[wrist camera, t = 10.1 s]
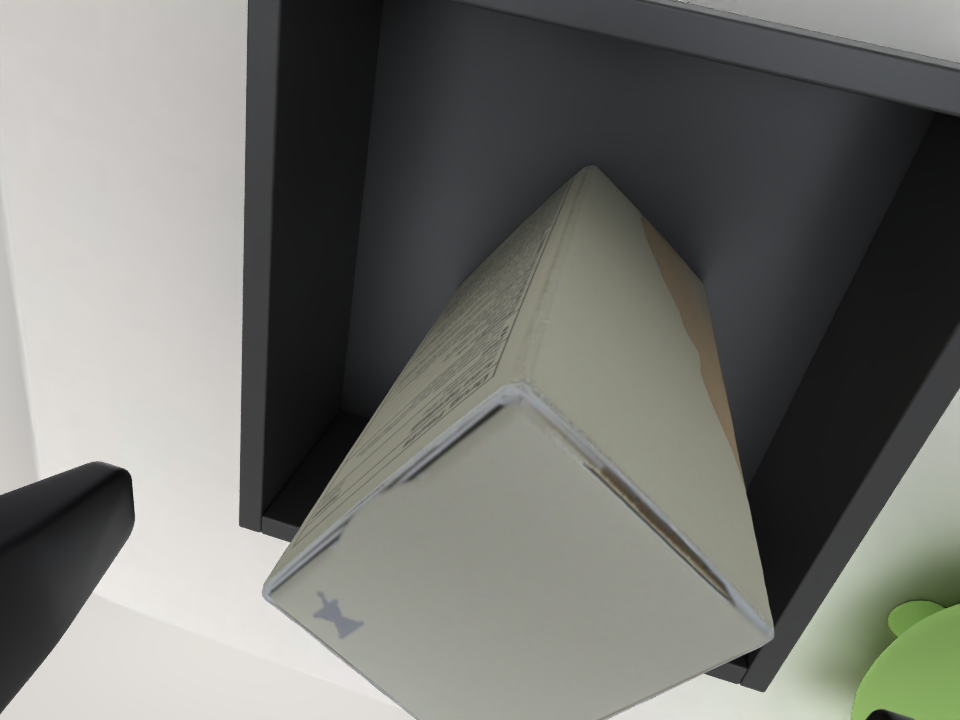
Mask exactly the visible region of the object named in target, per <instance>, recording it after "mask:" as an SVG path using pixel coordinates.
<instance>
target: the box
mask: <svg viewBox="0 0 960 720" xmlns="http://www.w3.org/2000/svg"><path fill="white" fill-rule="evenodd" d="M262 595H263V597H264V599H265V600H266V601H267V602H269V603H270V604H271V605H273V606H274V607H276V608H277V609H278V610H280V611H281V612H283V613H284V614H285V615H286V616H287V617H289V618H290V619H291V620H292V621H294V622H295V623H296V624H298V625H299V626H301V627H302V628H303V629H304V630H305V631H307V632H308V633H309V634H310V635H311V636H313V637H314V638H315V639H316V640H318V641H319V642H320V643H321V644H322V645H324V646H325V647H326V648H327V649H328V650H329V651H331V652H332V653H333V654H335V655H336V656H337V657H339V658H340V659H341V660H342V661H343V662H345V663H346V664H347V665H348V666H350V667H351V668H352V669H354V670H355V671H356V672H358V673H359V674H360V675H361V676H363V677H364V678H365V679H366V680H368V681H369V682H370V683H371V684H372V685H373V686H375V687H376V688H377V689H378V690H379V691H380V692H382V693H383V694H384V695H386V696H387V697H389V698H390V699H391V700H392V701H394V702H395V703H396V704H398V705H399V706H400V707H402V708H403V709H404V710H405V711H406V712H407V713H409V714H410V715H411V716H413V717H414V718H415V719H417V720H606V719H609V718H611V717H613V716H615V715H617V714H619V713H621V712H623V711H625V710H628V709H630V708H632V707H634V706H636V705H638V704H640V703H643V702H645V701H647V700H650V699H652V698H654V697H656V696H658V695H660V694H662V693H664V692H666V691H668V690H670V689H672V688H674V687H676V686H679V685H681V684H683V683H685V682H687V681H689V680H691V679H693V678H695V677H697V676H699V675H702V674H704V673H706V672H708V671H710V670H712V669H714V668H716V667H718V666H721V665H723V664H725V663H727V662H729V661H731V660H733V659H736V658H738V657H740V656H742V655H744V654H747V653H749V652H751V651H753V650H755V649H758V648H760V647H762V646H763V645H765V644H766V643H768V642H769V641H771V640H772V639H773V638H774V626H773V620H772V616H771V611H770V607H769V603H768V596H767V591H766V587H765V583H764V576H763V570H762V565H761V560H760V556H759V551H758V547H757V542H756V537H755V533H754V528H753V522H752V517H751V512H750V507H749V503H748V499H747V495H746V488H745V484H744V479H743V474H742V470H741V465H740V460H739V455H738V450H737V445H736V440H735V434H734V429H733V423H732V418H731V413H730V409H729V405H728V400H727V395H726V390H725V386H724V383H723V377H722V372H721V367H720V362H719V357H718V352H717V347H716V342H715V337H714V331H713V326H712V321H711V316H710V311H709V306H708V302H707V297H706V292H705V287H704V285H703V283H702V282H701V280H700V279H699V278H698V277H697V276H696V275H695V273H694V272H693V271H692V270H691V269H690V267H689V266H688V265H687V264H686V263H685V261H684V260H683V259H682V258H681V257H680V256H679V254H678V253H677V252H676V251H675V250H674V249H673V248H672V246H671V245H670V244H669V243H668V242H667V241H666V240H665V239H664V237H663V236H662V235H661V234H660V233H659V232H658V231H657V230H656V228H655V227H654V226H653V225H652V224H651V223H650V222H649V221H648V220H647V219H646V218H645V216H644V215H643V214H642V213H641V212H640V211H639V210H638V209H637V208H636V207H635V206H634V205H633V204H632V202H631V201H630V200H629V199H628V198H627V197H626V196H625V195H624V194H623V193H622V192H621V191H620V190H619V189H618V188H617V187H616V186H615V185H614V184H613V182H612V181H611V180H610V179H609V178H608V177H607V176H606V175H605V174H604V173H603V172H602V171H601V170H600V169H599V168H598V167H596V166H595V165H588V166H586V167H584V168H583V169H581V170H580V171H579V172H578V173H577V174H576V175H575V176H573V177H572V178H571V179H570V180H569V181H568V182H566V183H565V184H564V185H563V186H562V187H561V188H560V189H558V190H557V191H556V192H555V193H554V194H553V195H552V196H551V197H550V198H549V199H547V200H546V201H545V202H544V203H543V204H542V205H541V206H540V207H539V208H538V209H537V210H536V211H535V212H534V213H533V214H532V215H530V216H529V217H528V218H527V219H526V220H525V221H524V222H523V223H522V224H521V225H520V226H519V227H518V228H517V229H516V230H515V231H514V232H513V233H512V234H511V235H510V236H509V237H508V238H507V239H506V240H505V241H504V242H503V243H502V244H501V245H500V246H499V247H498V248H497V249H496V250H495V251H494V252H493V253H492V254H491V255H490V256H489V257H488V258H487V259H486V260H485V261H484V262H483V263H481V264H480V265H479V267H478V268H477V269H476V270H475V271H474V272H473V273H472V274H471V275H470V276H469V277H468V278H467V279H466V280H465V281H464V282H463V283H462V284H461V285H460V286H459V287H458V288H457V289H456V290H455V292H454V293H453V295H452V297H451V298H450V300H449V301H448V303H447V305H446V306H445V308H444V309H443V311H442V312H441V314H440V315H439V317H438V318H437V320H436V321H435V323H434V324H433V326H432V327H431V329H430V330H429V332H428V333H427V335H426V336H425V338H424V339H423V341H422V342H421V344H420V345H419V347H418V348H417V350H416V351H415V353H414V354H413V356H412V357H411V359H410V360H409V362H408V363H407V365H406V366H405V368H404V369H403V371H402V372H401V374H400V375H399V377H398V378H397V380H396V381H395V383H394V384H393V386H392V387H391V389H390V391H389V392H388V394H387V395H386V397H385V398H384V400H383V401H382V403H381V404H380V406H379V407H378V409H377V410H376V412H375V413H374V415H373V416H372V418H371V420H370V421H369V422H368V424H367V425H366V427H365V429H364V430H363V432H362V433H361V435H360V436H359V438H358V439H357V441H356V442H355V444H354V445H353V447H352V448H351V450H350V451H349V453H348V454H347V456H346V457H345V459H344V461H343V462H342V464H341V465H340V467H339V468H338V470H337V471H336V473H335V474H334V476H333V477H332V479H331V480H330V482H329V484H328V485H327V487H326V488H325V490H324V492H323V493H322V495H321V496H320V498H319V499H318V501H317V502H316V504H315V505H314V507H313V508H312V510H311V511H310V513H309V514H308V516H307V517H306V519H305V521H304V522H303V524H302V526H301V527H300V529H299V531H298V532H297V534H296V535H295V537H294V538H293V540H292V541H291V543H290V544H289V546H288V547H287V549H286V550H285V552H284V553H283V555H282V556H281V558H280V560H279V561H278V563H277V564H276V566H275V567H274V569H273V570H272V572H271V574H270V575H269V577H268V578H267V580H266V581H265V583H264V585H263V590H262Z"/></svg>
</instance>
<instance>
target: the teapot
mask: <svg viewBox="0 0 960 720" xmlns="http://www.w3.org/2000/svg"><path fill="white" fill-rule="evenodd" d="M888 626H889V628H890V630H891V631H892V632H893V633H894V634H895V635H896V636H897V637H898V638H897V639H895V640H894V641H893V642H892V643H891V644H890V645H889V646H888V647H887V648H886V649H885V650H884V651H883V652H882V653H881V654H880V656H879V657H878V658H877V659H876V660H875V662H874V663H873V665H872V666H871V667H870V669H869V670H868V672H867V673H866V674H865V676H864V677H863V679H862V681H861V683H860V685H859V687H858V689H857V692H856V695H855V699H854V704H853V708H852V714H851V720H866V718H867V717H868V716H869V715H870V714H871V713H872V712H873V711H875V710H878V709H885V710H888V711H892V712H895V713H898V714H901V715H904V716H907V717H910V718H913V719H915V720H960V604H957V605H954V606H951V607H948V608H946V609H945V608H944V607H942V606H941V605H939V604H936V603H934V602H930V601H921V600H920V601H911V602H906V603H903V604H901V605H899V606H897V607H896V608H895V609H893V610H892V612H891V613H890V614H889V616H888Z"/></svg>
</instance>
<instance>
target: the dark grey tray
mask: <svg viewBox="0 0 960 720" xmlns="http://www.w3.org/2000/svg"><path fill="white" fill-rule="evenodd" d="M588 165H595V166H596V167H598V168H599V169H600V170H601V171H602V172H603V173H604V174H605V175H606V176H607V177H608V178H609V179H610V180H611V181H612V182H613V184H614V185H615V186H616V187H617V188H618V189H619V190H620V191H621V192H622V193H623V194H624V195H625V196H626V197H627V198H628V199H629V200H630V201H631V202H632V204H633V205H634V206H635V207H636V208H637V209H638V210H639V211H640V212H641V213H642V214H643V215H644V216H645V218H646V219H647V220H648V221H649V222H650V223H651V224H652V225H653V226H654V227H655V228H656V230H657V231H658V232H659V233H660V234H661V235H662V236H663V237H664V239H665V240H666V241H667V242H668V243H669V244H670V245H671V246H672V248H673V249H674V250H675V251H676V252H677V253H678V254H679V256H680V257H681V258H682V259H683V260H684V261H685V263H686V264H687V265H688V266H689V267H690V269H691V270H692V271H693V272H694V273H695V275H696V276H697V277H698V278H699V279H700V280H701V282H702V283H703V285H704V287H705V292H706V297H707V302H708V306H709V311H710V316H711V321H712V326H713V331H714V337H715V342H716V347H717V352H718V357H719V362H720V367H721V372H722V377H723V383H724V386H725V390H726V395H727V400H728V405H729V409H730V413H731V418H732V423H733V429H734V434H735V440H736V445H737V450H738V455H739V460H740V465H741V470H742V474H743V479H744V484H745V488H746V495H747V499H748V503H749V507H750V512H751V517H752V522H753V528H754V533H755V537H756V542H757V547H758V551H759V556H760V560H761V565H762V570H763V576H764V583H765V587H766V591H767V596H768V603H769V607H770V611H771V616H772V620H773V626H774V638H773V639H772V640H771V641H769V642H768V643H766V644H765V645H763V646H762V647H760V648H758V649H755V650H753V651H751V652H749V653H747V654H744V655H742V656H740V657H738V658H736V659H733V660H731V661H729V662H727V663H725V664H723V665H721V666H718V667H716V668H714V669H712V670H710V671H708V672H706V673H704V674H707V675H710V676H713V677H716V678H719V679H722V680H726V681H729V682H732V683H735V684H739V683H740V685H742V686H745V687H748V688H751V689H754V690H757V691H760V692H765V691H766V689H767V688H768V686H769V684H770V683H771V681H772V680H773V678H774V677H775V675H776V674H777V672H778V670H779V669H780V667H781V666H782V664H783V663H784V661H785V659H786V658H787V656H788V655H789V653H790V652H791V650H792V649H793V647H794V645H795V644H796V642H797V641H798V639H799V638H800V636H801V635H802V633H803V631H804V630H805V628H806V627H807V625H808V624H809V622H810V621H811V619H812V617H813V616H814V614H815V613H816V611H817V610H818V608H819V606H820V605H821V603H822V602H823V600H824V599H825V597H826V596H827V594H828V592H829V591H830V589H831V588H832V586H833V585H834V583H835V582H836V580H837V578H838V577H839V575H840V574H841V572H842V571H843V569H844V567H845V566H846V564H847V563H848V561H849V560H850V558H851V557H852V555H853V553H854V552H855V550H856V549H857V547H858V546H859V544H860V543H861V541H862V539H863V538H864V536H865V535H866V533H867V532H868V530H869V528H870V527H871V525H872V524H873V522H874V521H875V519H876V518H877V516H878V514H879V513H880V511H881V510H882V508H883V507H884V505H885V504H886V502H887V500H888V499H889V497H890V496H891V494H892V493H893V491H894V489H895V488H896V486H897V485H898V483H899V482H900V480H901V479H902V477H903V475H904V474H905V472H906V471H907V469H908V468H909V466H910V465H911V463H912V461H913V460H914V458H915V457H916V455H917V454H918V452H919V451H920V449H921V447H922V446H923V444H924V443H925V441H926V440H927V438H928V436H929V435H930V433H931V432H932V430H933V429H934V427H935V426H936V424H937V422H938V421H939V419H940V418H941V416H942V415H943V413H944V412H945V410H946V408H947V407H948V405H949V404H950V402H951V401H952V399H953V397H954V396H955V394H956V393H957V391H958V390H959V388H960V63H955V62H951V61H946V60H942V59H937V58H933V57H928V56H924V55H919V54H915V53H910V52H906V51H901V50H897V49H892V48H887V47H883V46H878V45H874V44H869V43H865V42H860V41H856V40H851V39H847V38H842V37H838V36H833V35H829V34H824V33H819V32H815V31H810V30H806V29H801V28H797V27H792V26H788V25H783V24H779V23H774V22H770V21H765V20H761V19H756V18H751V17H747V16H742V15H738V14H733V13H729V12H724V11H720V10H715V9H711V8H706V7H702V6H697V5H693V4H688V3H683V2H679V1H674V0H248V28H247V88H246V147H245V207H244V266H243V326H242V385H241V445H240V505H239V526H240V527H243V528H247V529H250V530H253V531H256V532H262V533H263V534H266V535H269V536H272V537H275V538H278V539H281V540H285V541H288V542H291V541H292V540H293V538H294V537H295V535H296V534H297V532H298V531H299V529H300V527H301V526H302V524H303V522H304V521H305V519H306V517H307V516H308V514H309V513H310V511H311V510H312V508H313V507H314V505H315V504H316V502H317V501H318V499H319V498H320V496H321V495H322V493H323V492H324V490H325V488H326V487H327V485H328V484H329V482H330V480H331V479H332V477H333V476H334V474H335V473H336V471H337V470H338V468H339V467H340V465H341V464H342V462H343V461H344V459H345V457H346V456H347V454H348V453H349V451H350V450H351V448H352V447H353V445H354V444H355V442H356V441H357V439H358V438H359V436H360V435H361V433H362V432H363V430H364V429H365V427H366V425H367V424H368V422H369V421H370V420H371V418H372V416H373V415H374V413H375V412H376V410H377V409H378V407H379V406H380V404H381V403H382V401H383V400H384V398H385V397H386V395H387V394H388V392H389V391H390V389H391V387H392V386H393V384H394V383H395V381H396V380H397V378H398V377H399V375H400V374H401V372H402V371H403V369H404V368H405V366H406V365H407V363H408V362H409V360H410V359H411V357H412V356H413V354H414V353H415V351H416V350H417V348H418V347H419V345H420V344H421V342H422V341H423V339H424V338H425V336H426V335H427V333H428V332H429V330H430V329H431V327H432V326H433V324H434V323H435V321H436V320H437V318H438V317H439V315H440V314H441V312H442V311H443V309H444V308H445V306H446V305H447V303H448V301H449V300H450V298H451V297H452V295H453V293H454V292H455V290H456V289H457V288H458V287H459V286H460V285H461V284H462V283H463V282H464V281H465V280H466V279H467V278H468V277H469V276H470V275H471V274H472V273H473V272H474V271H475V270H476V269H477V268H478V267H479V265H480V264H481V263H483V262H484V261H485V260H486V259H487V258H488V257H489V256H490V255H491V254H492V253H493V252H494V251H495V250H496V249H497V248H498V247H499V246H500V245H501V244H502V243H503V242H504V241H505V240H506V239H507V238H508V237H509V236H510V235H511V234H512V233H513V232H514V231H515V230H516V229H517V228H518V227H519V226H520V225H521V224H522V223H523V222H524V221H525V220H526V219H527V218H528V217H529V216H530V215H532V214H533V213H534V212H535V211H536V210H537V209H538V208H539V207H540V206H541V205H542V204H543V203H544V202H545V201H546V200H547V199H549V198H550V197H551V196H552V195H553V194H554V193H555V192H556V191H557V190H558V189H560V188H561V187H562V186H563V185H564V184H565V183H566V182H568V181H569V180H570V179H571V178H572V177H573V176H575V175H576V174H577V173H578V172H579V171H580V170H581V169H583V168H584V167H586V166H588Z"/></svg>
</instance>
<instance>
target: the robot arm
mask: <svg viewBox="0 0 960 720" xmlns="http://www.w3.org/2000/svg"><path fill="white" fill-rule="evenodd" d="M134 521H135V512H134V500H133V488H132V478H131V475H130V474H129V472H128V471H127V470H125V469H123V468H120V467H117V466H114V465H111V464H108V463H104V462H98V461H96V462H91V463H87V464H85V465H82V466H79V467H76V468H74V469H71V470H68V471H66V472H63V473H60V474H57V475H55V476H52V477H49V478H46V479H44V480H41V481H38V482H35V483H33V484H30V485H27V486H24V487H22V488H19V489H17V490H13V491H11V492H8V493H5V494H3V495H0V714H1V713H2V711H3V710H4V709H5V708H6V706H7V705H8V704H9V703H10V701H11V700H12V699H13V698H14V696H15V695H16V694H17V693H18V692H19V691H20V689H21V688H22V687H23V686H24V684H25V683H26V682H27V681H28V680H29V678H30V677H31V676H32V675H33V673H34V672H35V671H36V670H37V668H38V667H39V666H40V665H41V664H42V662H43V661H44V660H45V659H46V657H47V656H48V655H49V654H50V652H51V651H52V650H53V648H54V647H55V646H56V644H57V643H58V642H59V640H60V639H61V637H62V636H63V634H64V633H65V632H66V630H67V629H68V628H69V626H70V625H71V623H72V622H73V620H74V619H75V617H76V615H77V614H78V613H79V611H80V610H81V608H82V607H83V605H84V604H85V602H86V601H87V599H88V598H89V596H90V595H91V593H92V592H93V590H94V589H95V587H96V586H97V584H98V583H99V581H100V580H101V578H102V577H103V575H104V574H105V572H106V571H107V569H108V568H109V566H110V565H111V563H112V562H113V560H114V559H115V557H116V556H117V554H118V553H119V551H120V550H121V548H122V547H123V545H124V544H125V542H126V541H127V539H128V538H129V536H130V534H131V532H132V529H133V526H134ZM866 720H915V719H913V718H910V717H907V716H904V715H901V714H898V713H895V712H892V711H888V710H885V709H878V710H875V711H873V712H872V713H871V714H870V715H869V716H868V717H867V718H866Z"/></svg>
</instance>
